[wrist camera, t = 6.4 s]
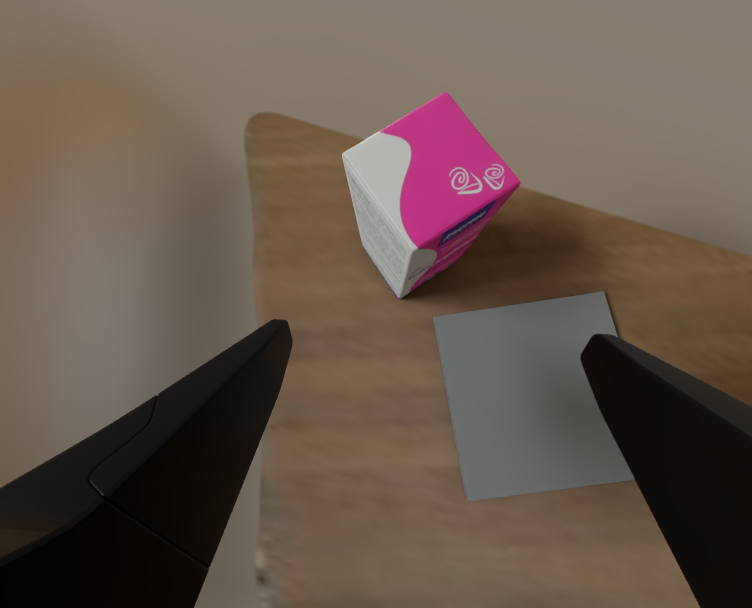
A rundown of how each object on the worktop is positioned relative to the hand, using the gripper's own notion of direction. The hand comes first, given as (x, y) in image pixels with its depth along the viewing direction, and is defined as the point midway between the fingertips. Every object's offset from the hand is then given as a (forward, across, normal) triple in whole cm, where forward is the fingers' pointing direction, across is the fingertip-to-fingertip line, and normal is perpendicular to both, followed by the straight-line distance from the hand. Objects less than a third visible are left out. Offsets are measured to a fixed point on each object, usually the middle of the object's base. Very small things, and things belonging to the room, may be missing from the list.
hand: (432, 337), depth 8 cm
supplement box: (+15, 0, +4) cm, 16 cm away
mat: (+8, -10, +12) cm, 17 cm away
